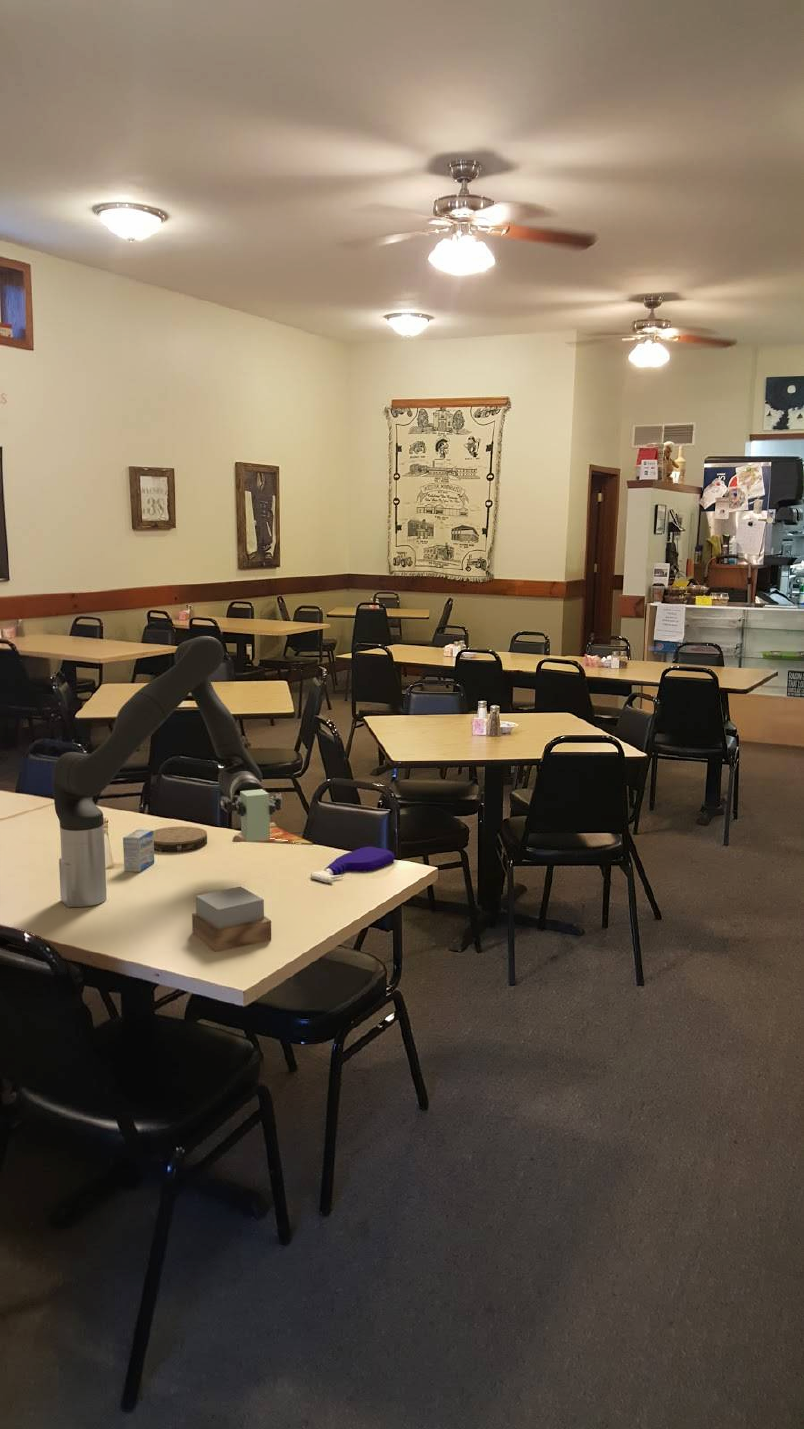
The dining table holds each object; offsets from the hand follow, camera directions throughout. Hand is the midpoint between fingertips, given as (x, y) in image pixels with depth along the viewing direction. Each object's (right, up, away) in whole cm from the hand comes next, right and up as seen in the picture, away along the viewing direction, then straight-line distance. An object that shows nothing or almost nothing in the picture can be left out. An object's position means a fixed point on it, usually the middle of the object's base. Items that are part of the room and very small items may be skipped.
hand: (256, 810), depth 217 cm
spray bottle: (+19, -18, +32) cm, 41 cm away
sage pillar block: (-1, -6, +3) cm, 7 cm away
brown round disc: (-29, -14, +52) cm, 62 cm away
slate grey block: (-3, -20, -13) cm, 24 cm away
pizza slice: (-6, -14, +57) cm, 59 cm away
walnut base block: (-3, -25, -13) cm, 28 cm away
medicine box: (-34, -17, +32) cm, 49 cm away
